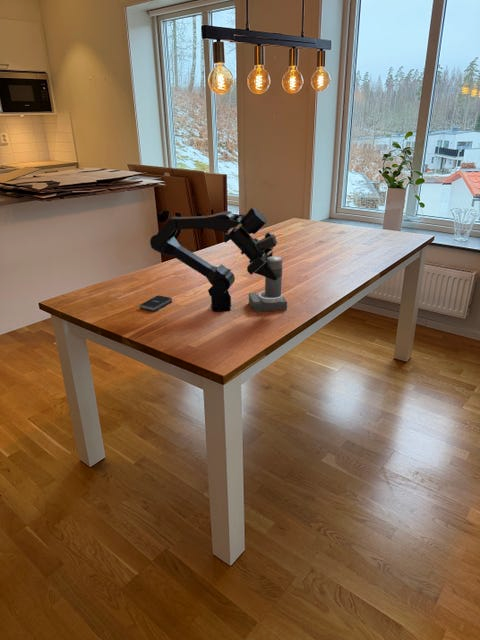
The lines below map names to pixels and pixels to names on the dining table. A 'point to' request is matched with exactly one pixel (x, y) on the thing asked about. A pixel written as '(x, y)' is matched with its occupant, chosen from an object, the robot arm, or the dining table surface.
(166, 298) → the external hard drive
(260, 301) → the camera body
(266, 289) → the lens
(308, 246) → the dining table surface
